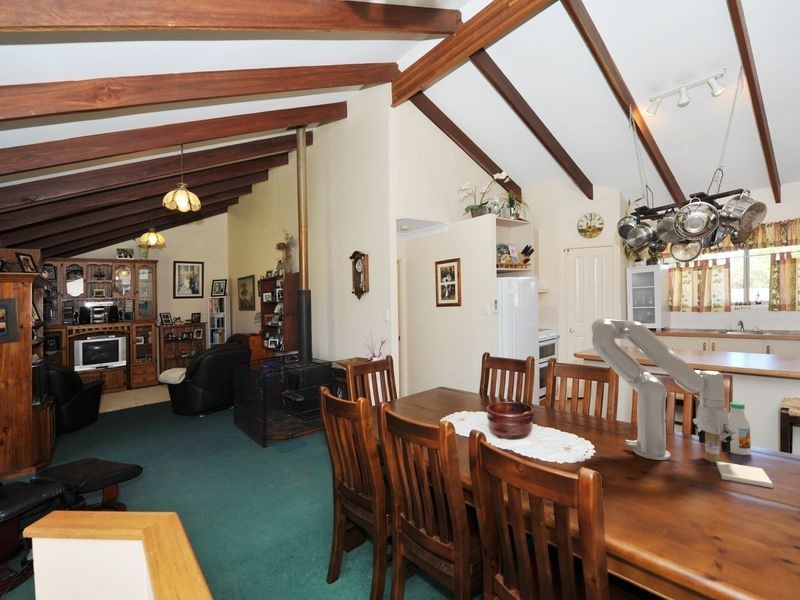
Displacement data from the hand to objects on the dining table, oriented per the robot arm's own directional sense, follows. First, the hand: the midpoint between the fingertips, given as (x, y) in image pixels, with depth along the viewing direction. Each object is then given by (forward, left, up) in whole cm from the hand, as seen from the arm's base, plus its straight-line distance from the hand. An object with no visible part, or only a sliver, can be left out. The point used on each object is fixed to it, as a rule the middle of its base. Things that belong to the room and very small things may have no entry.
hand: (714, 446), depth 150 cm
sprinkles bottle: (-1, 0, -6) cm, 6 cm away
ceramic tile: (+6, -11, -5) cm, 14 cm away
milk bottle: (+9, +15, -6) cm, 18 cm away
